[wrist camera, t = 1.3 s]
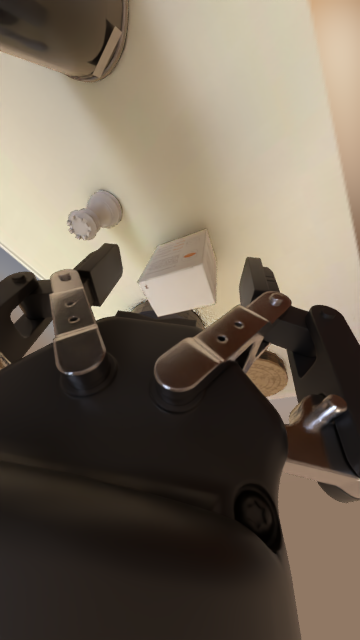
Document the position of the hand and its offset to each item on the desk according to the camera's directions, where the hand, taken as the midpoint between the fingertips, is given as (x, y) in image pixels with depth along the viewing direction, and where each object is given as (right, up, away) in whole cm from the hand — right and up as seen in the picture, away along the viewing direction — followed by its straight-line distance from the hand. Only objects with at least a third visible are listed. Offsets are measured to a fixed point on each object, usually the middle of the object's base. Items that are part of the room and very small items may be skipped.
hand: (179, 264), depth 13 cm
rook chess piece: (-10, +12, +15) cm, 22 cm away
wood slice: (+16, -15, +36) cm, 42 cm away
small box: (+1, +7, +18) cm, 19 cm away
